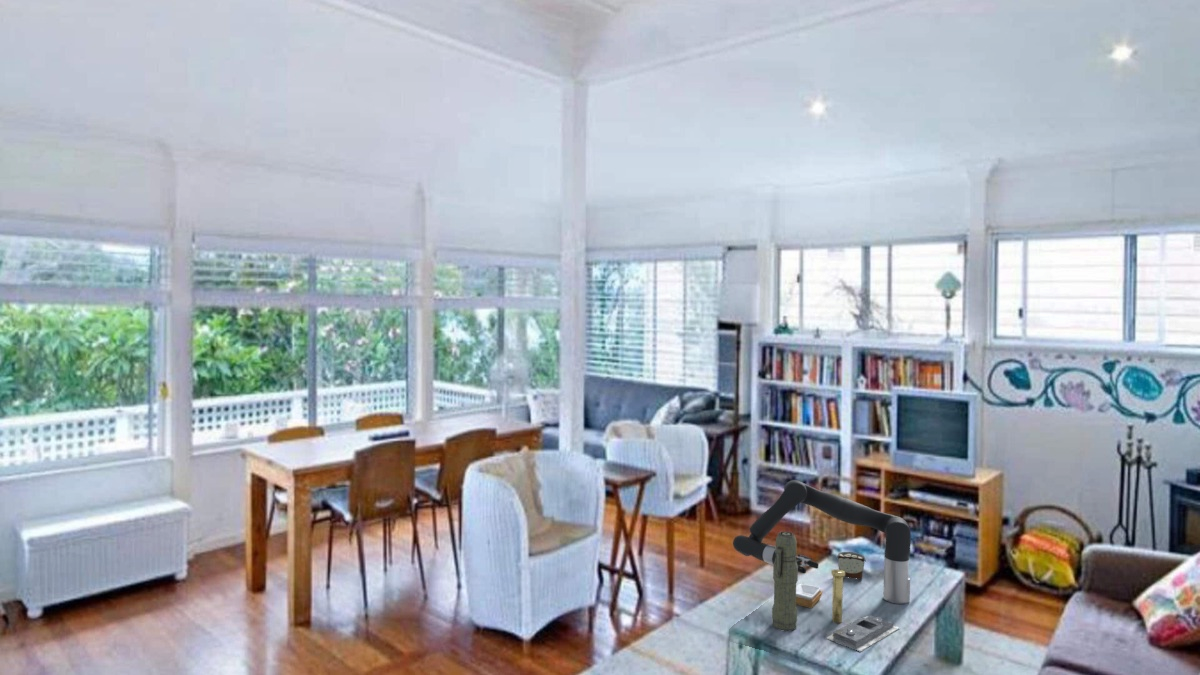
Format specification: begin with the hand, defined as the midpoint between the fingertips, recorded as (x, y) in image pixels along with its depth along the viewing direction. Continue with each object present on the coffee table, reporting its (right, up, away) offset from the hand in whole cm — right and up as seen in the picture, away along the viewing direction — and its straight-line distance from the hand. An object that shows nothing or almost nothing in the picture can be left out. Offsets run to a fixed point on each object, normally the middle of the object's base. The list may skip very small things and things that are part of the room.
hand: (811, 568), depth 284 cm
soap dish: (+1, -17, +10) cm, 20 cm away
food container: (+28, -16, +38) cm, 50 cm away
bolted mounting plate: (+14, -18, -18) cm, 29 cm away
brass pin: (+7, -17, -8) cm, 20 cm away
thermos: (-14, -18, -12) cm, 26 cm away
